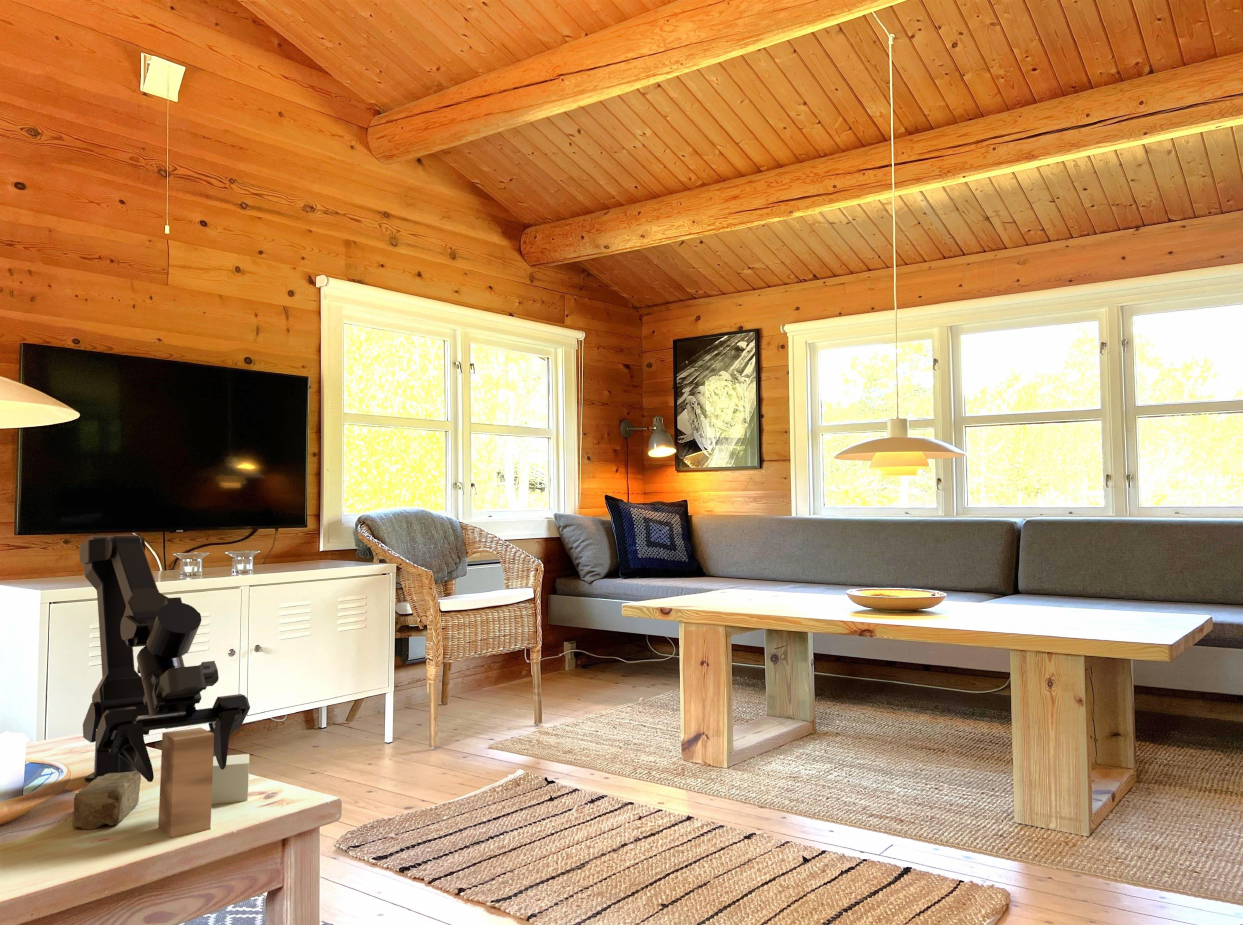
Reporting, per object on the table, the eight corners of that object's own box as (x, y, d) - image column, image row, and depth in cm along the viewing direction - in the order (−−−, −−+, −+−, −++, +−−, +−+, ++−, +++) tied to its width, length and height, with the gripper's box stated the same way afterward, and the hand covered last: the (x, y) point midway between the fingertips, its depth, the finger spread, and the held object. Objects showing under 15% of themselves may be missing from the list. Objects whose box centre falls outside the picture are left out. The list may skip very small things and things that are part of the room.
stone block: (142, 803, 135) (143, 768, 135) (117, 830, 124) (119, 792, 124) (97, 806, 134) (99, 770, 134) (69, 833, 122) (71, 794, 123)
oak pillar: (158, 827, 124) (162, 732, 125) (197, 819, 128) (201, 727, 129) (170, 837, 121) (174, 739, 121) (210, 829, 124) (214, 734, 125)
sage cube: (208, 793, 140) (210, 756, 140) (248, 790, 142) (249, 754, 142) (206, 804, 135) (208, 766, 135) (247, 801, 137) (248, 763, 137)
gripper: (105, 648, 123) (126, 749, 114) (247, 637, 135) (276, 727, 127) (86, 700, 128) (105, 800, 119) (225, 684, 141) (251, 774, 132)
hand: (188, 773), depth 124 cm, fingers open, 9 cm apart
